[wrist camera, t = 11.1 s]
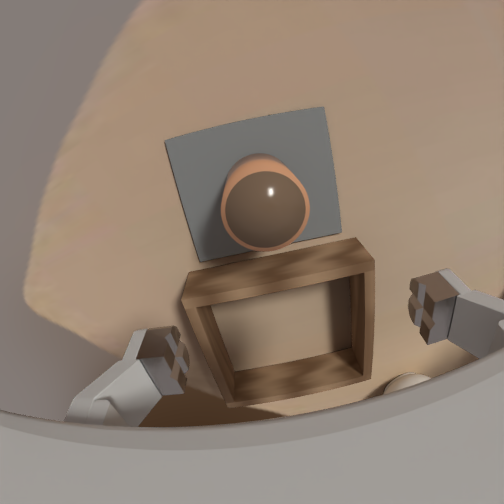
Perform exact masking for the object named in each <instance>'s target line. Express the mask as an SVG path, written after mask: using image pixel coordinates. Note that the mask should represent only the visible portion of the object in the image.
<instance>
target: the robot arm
mask: <svg viewBox="0 0 504 504" xmlns="http://www.w3.org/2000/svg"><path fill="white" fill-rule="evenodd" d="M410 290H411V292H412V293H413V294H412V295H411V297H410V298H409V302H408V309H409V315H410V318H411V320H412V322H413V323H414V325H416V326H419V327H420V334H421V336H422V337H423V339H424V340H425V342H426V344H427V345H429V344H432V343H435V342H438V341H441V340H445V339H448V340H449V341H451V342H452V343H454V344H456V345H458V346H459V347H461V348H463V349H464V350H466V351H468V352H469V353H471V354H473V355H474V356H476V357H477V358H479V359H478V360H476V361H473V362H471V363H469V364H467V365H464V366H462V367H460V368H457V369H455V370H452V371H450V372H447V373H445V374H442V375H440V376H437V377H434V378H432V379H429V380H426V381H423V382H420V383H418V384H415V385H412V386H409V387H406V388H403V389H399V390H396V391H393V392H390V393H386V394H383V395H380V396H376V397H373V398H369V399H365V400H361V401H358V402H354V403H350V404H346V405H341V406H337V407H333V408H328V409H324V410H319V411H314V412H309V413H304V414H298V415H292V416H286V417H280V418H274V419H267V420H260V421H251V422H243V423H234V424H222V425H211V426H210V425H209V426H192V427H138V425H140V423H141V422H142V421H143V419H144V418H145V417H146V416H147V415H148V413H149V412H150V411H151V410H152V408H153V407H154V406H155V405H156V403H157V402H158V401H159V400H160V398H161V397H162V395H174V394H183V393H184V392H185V386H186V381H187V378H186V377H185V375H184V374H185V373H186V372H187V371H188V370H189V354H188V350H187V348H186V345H185V344H184V343H183V342H181V341H180V340H179V339H180V335H181V334H180V332H179V330H178V328H177V327H176V326H166V327H157V328H149V329H140V330H136V331H134V333H133V335H132V337H131V340H130V342H129V345H128V347H127V349H126V352H125V354H124V357H123V359H122V361H118V362H116V363H115V364H114V365H113V366H112V367H110V368H109V369H108V370H107V371H106V372H104V373H103V374H102V375H101V376H100V377H98V378H97V379H96V380H95V381H94V382H92V383H91V384H90V385H89V386H88V387H86V388H85V389H84V390H83V391H82V392H80V393H79V394H78V395H77V396H75V397H74V399H73V401H72V403H71V406H70V408H69V410H68V412H67V415H66V417H65V419H64V421H56V420H49V419H43V418H37V417H32V416H26V415H21V414H16V413H11V412H7V411H3V410H0V504H504V300H503V299H500V298H497V297H494V296H491V295H489V294H486V293H483V292H480V291H477V290H473V291H471V290H470V289H469V288H468V287H467V286H466V285H465V284H464V283H463V282H462V281H461V280H460V279H459V278H458V277H457V276H456V275H455V274H454V273H453V272H452V271H451V270H450V269H448V268H446V269H442V270H439V271H436V272H434V273H431V274H427V275H423V276H420V277H416V278H412V279H411V282H410Z"/></svg>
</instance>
